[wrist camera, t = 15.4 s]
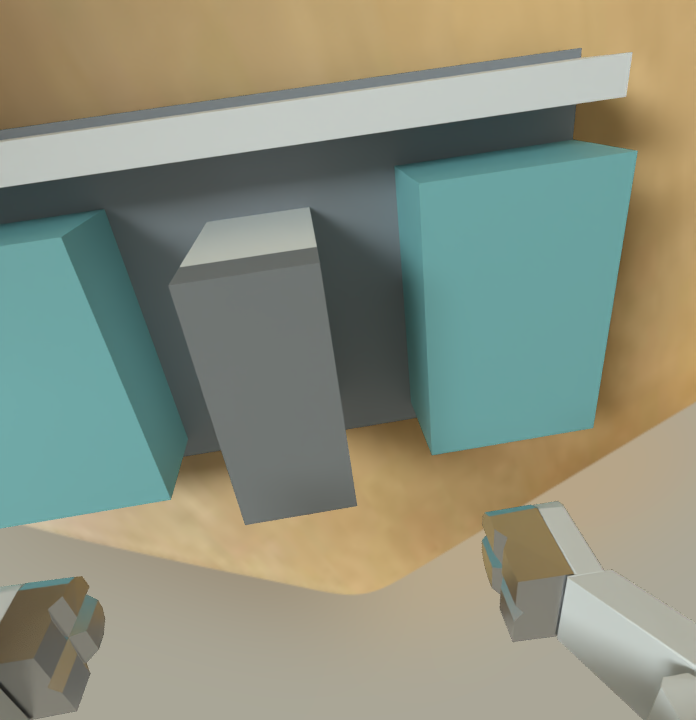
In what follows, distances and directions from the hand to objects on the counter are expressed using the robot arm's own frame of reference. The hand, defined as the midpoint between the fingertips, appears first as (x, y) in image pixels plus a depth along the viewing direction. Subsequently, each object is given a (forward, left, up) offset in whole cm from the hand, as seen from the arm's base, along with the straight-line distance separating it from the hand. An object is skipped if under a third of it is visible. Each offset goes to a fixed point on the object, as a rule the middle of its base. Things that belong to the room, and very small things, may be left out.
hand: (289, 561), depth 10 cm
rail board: (0, -1, -14) cm, 14 cm away
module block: (0, 0, -13) cm, 13 cm away
